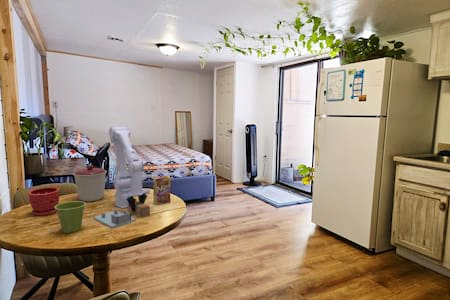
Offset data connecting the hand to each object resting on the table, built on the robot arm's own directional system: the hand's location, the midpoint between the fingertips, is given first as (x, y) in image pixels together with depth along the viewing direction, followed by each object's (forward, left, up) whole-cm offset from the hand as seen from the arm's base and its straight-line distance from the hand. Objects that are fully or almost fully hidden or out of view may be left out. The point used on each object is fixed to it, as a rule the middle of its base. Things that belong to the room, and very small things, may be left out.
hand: (137, 209), depth 143 cm
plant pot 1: (-35, -31, -2) cm, 47 cm away
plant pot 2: (-2, -31, -2) cm, 31 cm away
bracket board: (+1, -13, -1) cm, 13 cm away
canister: (-41, -5, -2) cm, 41 cm away
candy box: (-3, +18, -2) cm, 18 cm away
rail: (+1, 0, -2) cm, 2 cm away
